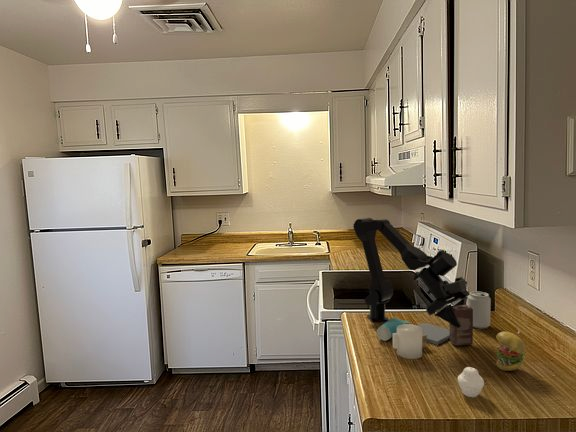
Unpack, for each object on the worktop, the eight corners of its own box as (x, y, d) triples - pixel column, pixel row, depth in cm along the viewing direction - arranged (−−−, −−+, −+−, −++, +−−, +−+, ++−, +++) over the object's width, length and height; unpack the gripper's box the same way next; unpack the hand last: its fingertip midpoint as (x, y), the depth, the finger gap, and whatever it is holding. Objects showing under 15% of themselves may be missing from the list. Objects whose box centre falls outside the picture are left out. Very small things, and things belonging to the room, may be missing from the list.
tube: (374, 323, 139) (391, 311, 155) (372, 336, 139) (389, 323, 156) (396, 330, 135) (411, 317, 151) (393, 344, 135) (408, 330, 152)
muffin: (467, 402, 100) (468, 374, 99) (452, 389, 106) (452, 363, 105) (489, 398, 102) (490, 371, 101) (472, 386, 108) (473, 360, 107)
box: (465, 339, 136) (466, 304, 135) (473, 345, 132) (474, 308, 130) (448, 340, 135) (449, 305, 134) (455, 346, 131) (456, 309, 130)
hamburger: (493, 361, 121) (494, 322, 120) (521, 365, 118) (522, 324, 117) (497, 373, 114) (498, 331, 113) (526, 377, 111) (528, 334, 110)
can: (493, 329, 145) (494, 296, 144) (472, 329, 146) (473, 296, 144) (484, 321, 153) (485, 290, 152) (463, 322, 153) (464, 290, 152)
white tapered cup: (415, 347, 132) (415, 323, 131) (426, 357, 125) (426, 332, 124) (388, 349, 131) (388, 325, 130) (398, 360, 123) (398, 334, 123)
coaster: (405, 334, 142) (405, 331, 142) (424, 325, 150) (424, 322, 150) (437, 345, 133) (437, 341, 133) (455, 335, 141) (455, 331, 141)
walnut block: (408, 344, 135) (408, 332, 134) (418, 342, 136) (418, 330, 136) (416, 349, 131) (416, 337, 130) (426, 347, 132) (426, 335, 132)
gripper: (435, 275, 128) (469, 318, 121) (464, 265, 140) (497, 304, 133) (413, 294, 135) (443, 336, 128) (442, 283, 147) (472, 321, 140)
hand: (465, 324), depth 132 cm, fingers closed on box, 7 cm apart
